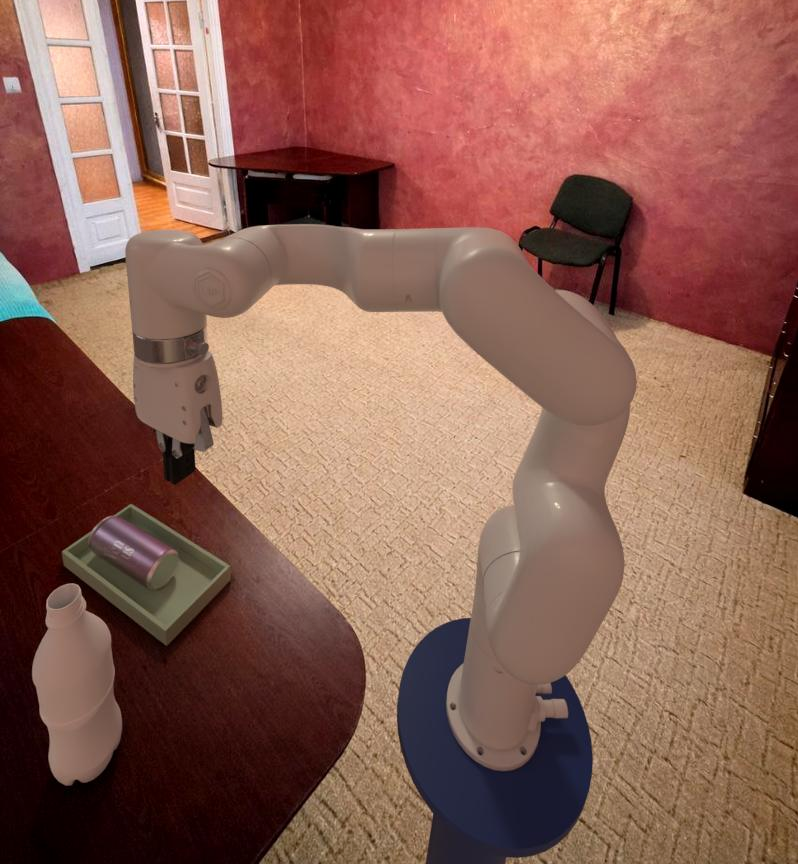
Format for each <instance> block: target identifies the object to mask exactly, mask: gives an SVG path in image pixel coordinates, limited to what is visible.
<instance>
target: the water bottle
mask: <svg viewBox="0 0 798 864" xmlns="http://www.w3.org/2000/svg"><path fill="white" fill-rule="evenodd" d="M82 594H83V593H82V589H81V587H80V585H79V584H76V583H66V584H63V585H60V586H58V587H57V588H56V589H54V590H53V591H52V592H51V593H50V594H49V596H48V597H47V599H46V606H45V609H46V616H45V625H46V627H47V630H46V632H45V634H44V636H43V637H42V639H41V640H40V643H39V645H38V647H37V649H36V651H35V655H34V658H33V661H32V668H31V678H32V679H31V680H32V682H33V685H34V686H35V689H36V695H37V700H38V705H39V716H40V718H41V720H42V722H43V723H44V725H45V726H46V727H47V731H48V735H49V736H48V737H49V747H48V755H47V757H48V764H49V768H50V771H51V774H52V776H53V777H54V778H55V779H56V780H57V782H58V783H60V784H61V785H64V786H67V787H68V786H73V784H74V782H75V781H76V780H77V781H79V782H80V783H83V784H84V783H86V784H87V783H88V782H92V781H94V780H95V779H97V778H98V777H99V776H100V775H101V774H102V773H103V772H104V771H105V769H106V768H107V766H108V764H109V763H110V761H111V759H112V757H113V754H114V751H115V750H116V749H118V746H119V744H120V742H121V738H122V733H123V717H122V712H121V708H120V705H119V704H118V702H117V701H116V698H115V693H114V682H115V673H116V671H115V670H116V668H115V664H114V659H113V651H112V635H111V630H110V629H109V627H108V625H107V623H105V621H104V620H103V619H102V618H100V617H99V616H98V615H95V614H94V613H92V612H90V611H88V610H86V609H87V601H86V600H85V598H84V596H83V595H82Z"/></svg>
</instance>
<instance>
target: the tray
mask: <svg viewBox="0 0 798 864" xmlns="http://www.w3.org/2000/svg"><path fill="white" fill-rule="evenodd" d="M113 516H117V517H121V518H123V519H124V520H126V521H128V522H129V523H131V524H133V525H134V526H136V527H138V528H139V529H141V530H143V531H145V532H146V533H148V534H150V535H151V536H153V537H155V538H156V539H158V540H160V541H161V542H163V543H165V544H166V545H168V546H170V547H171V548H173V549H175V550H176V551H177V553H178V556H179V563H178V567H177V569H176V571H175V573H174V575H173V576H172V578H171V579H170V580H169V581H168V583H166V584H165V585H164V586H163V587H161V588H159V589H156V590H149V589H147V588H146V587H144V586H143V585H141V584H140V583H138V582H136V581H135V580H133V579H132V578H130V577H129V576H127V575H126V574H124V573H123V572H121V571H120V570H118V569H117V568H115V567H114V566H112V565H111V564H109V563H108V562H106V561H105V560H103V559H102V558H100V557H99V556H97V555H96V554H94V553H93V552H92V550H91V549H90V548H89V546H88V539H89V536H90V534H91V532H92V530H91V531H90V532H88V533H86V534H85V535H83V536H82V537H81V538H79V539H78V540H77V541H75V542H73V543H72V544H71V545H68V547H66V548H65V549H63V550H62V551H61V556H62V563H63V567H64V568H66V569H68V570H69V571H70V572H71V573H72V574H74V576H77V578H79V579H80V580H81V581H83V582H84V583H85V584H87V585H88V586H89V587H91V588H92V590H94V591H95V592H97V593H98V594H99V595H101V596H102V597H103V598H104V599H105V600H107V601H108V602H110V603H111V604H112V605H113V606H115V607H116V608H117V609H119V610H120V611H121V612H122V613H124V614H125V615H126V616H127V617H129V618H130V619H131V620H132V621H134V622H135V623H137V625H139V626H140V627H141V628H142V629H144V630H145V631H146V632H148V633H149V634H150V635H152V636H153V637H154V638H155V639H157V640H158V641H159V642H160V643H162V644H163V645H164V646H166V647H167V646H169V645H170V643H172V641H173V640H174V639H175V638H176V637H177V636H178V635H179V634H180V633H181V632H182V631H183V630H184V629H185V628H186V627H187V626H188V625H189V624H190V623H191V622H192V621H193V620H194V619H195V618H196V617H197V616H198V615H199V613H201V611H203V609H205V608H206V606H207V605H208V604H209V603H210V602H211V601H213V600H214V598H215V597H216V596H217V595H218V594H219V593H220V592H221V591H222V590H223V589H224V588H225V587H226V586H227V584H228V583H230V581H231V580H232V573H231V572H232V571H231V570H232V569H231V567H232V566H231V565H229V563H227V562H225V561H224V560H222V559H221V558H218V557H217V556H215V555H214V554H212V553H211V552H209V551H208V550H206V549H204V548H203V547H202V546H199V545H198V544H196V543H195V542H193V541H192V540H190V539H188V538H187V537H185V536H183V535H182V534H180V533H179V532H177V531H176V530H174V529H172V528H171V527H169V526H167V525H166V524H165V523H163V522H162V521H160V520H158V519H157V518H155V517H153V516H151V514H149V513H147V512H146V511H144V510H142V509H140V508H139V507H137V506H135V505H134V504H132V503H130V504H128V505H127V506H126V507H124V508H123V509H121V510H120V511H119V512H117V513H116V514H113Z"/></svg>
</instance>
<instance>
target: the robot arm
mask: <svg viewBox="0 0 798 864" xmlns="http://www.w3.org/2000/svg"><path fill="white" fill-rule="evenodd" d="M124 251H125V253H124V254H125V265H126V277H127V288H128V299H129V300H128V301H129V311H130V322H131V331H132V343H133V353H134V354H133V366H132V368H133V369H132V389H133V391H132V392H133V403H134V409H135V414H136V416H137V418H138V420H140V421H141V422H142V423H143V424H145V425H147V426H148V427H151V428H152V429H153V432H154V434H156V440H157V444H158V448H159V450H160V451H161V452H163V453H162V463H163V476H164V480H165V481H166V482H170V484H171V485H173V486H176V485H178V484H179V483H180V482H182V481H183V480H184V479H186V478H187V477H189V476H190V475H192V474H193V473H194V472H195V471H196V453H195V451H198V452H204V453H205V452H206V451H207V450H209V449H211V448H212V447H213V446H214V444H215V443H214V439H213V435H212V430H211V427H213V428H216V429H218V428H220V427H221V426H222V425H223V404H222V395H221V387H220V380H219V375H218V369H217V366H216V362H215V358H214V356H213V353H212V352H211V351H209V349H210V346H209V343H208V342H209V341H208V317H207V316H209V317H212V318H220V319H231V318H235V317H238V316H240V315H243V314H244V313H246V312H247V311H248V310H250V309H251V308H252V307H253V306H254V305H255V304H256V303H257V302H258V301H259V300H260V299H262V298H263V297H264V296H265V295H266V294H267V293H268V292H269V291H271V289H272V288H273V287H275V286H282V285H283V286H286V285H315V286H322V287H328V288H332V289H335V290H337V291H339V292H342V294H344V295H346V297H348V299H349V300H350V301H351V302H352V303H353V304H355V306H357V307H358V309H360V310H362V311H364V312H368V313H412V312H413V313H419V312H421V313H424V312H425V313H426V312H427V313H429V312H430V313H431V312H432V313H433V312H434V313H435V312H436V313H437V312H438V313H442V315H443V317H444V319H445V320H446V323H447V324H448V325H449V327H450V328H451V329H452V330H453V332H454V333H455V334H456V335H457V336H458V337H459V338H460V339H461V340H462V341H463V342H464V343H465V344H466V345H467V346H468V347H469V348H470V349H472V350H473V352H475V353H476V354H477V355H478V356H479V357H481V358H482V359H483V361H485V362H487V363H488V364H489V365H490V366H491V367H492V368H494V369H495V370H496V371H497V372H498V373H500V374H501V375H502V376H503V377H504V378H506V379H507V380H508V381H509V382H511V383H512V384H513V385H514V386H515V387H517V389H518V390H520V391H521V392H522V393H524V394H525V395H526V396H528V397H529V398H530V399H531V400H532V401H534V402H535V403H536V404H537V405H539V406H540V407H541V411H540V414H539V417H538V421H537V423H536V425H535V428H534V430H533V432H532V434H531V437H530V439H529V441H528V444H527V446H526V448H525V451H524V452H523V455H522V457H521V460H520V462H519V464H518V466H517V469H516V471H515V474H514V477H513V479H512V500H513V504H510V505H506V506H503V507H501V508H499V509H497V510H496V511H495V512H493V513H492V514H491V515H490V516H489V517H488V519H487V520H486V521H485V523H484V525H483V527H482V530H481V532H480V536H479V540H478V547H477V559H476V576H475V586H474V593H473V602H472V608H471V614H470V618H471V620H470V626H469V633H468V639H467V645H466V652H465V658H464V663H463V664H462V665H461V666H460V667H459V668H458V669H457V670H456V671H455V673H454V674H453V676H452V677H451V680H450V683H449V686H448V691H447V699H446V709H447V716H448V720H449V725H450V727H451V730H452V732H453V734H454V736H455V738H456V740H457V741H458V743H459V745H460V746H461V747H462V748H463V750H464V751H465V752H466V753H467V754H468V755H469V756H470V757H471V758H472V759H473V760H475V761H476V762H478V763H479V764H481V765H483V766H484V767H487V768H490V769H493V770H497V771H510V770H514V769H517V768H519V767H521V766H523V765H524V764H525V763H526V762H528V761H529V759H530V758H531V757H532V755H533V754H534V752H535V750H536V747H537V745H538V741H539V737H540V730H541V722H544V721H545V718H568V708H567V704H566V702H565V700H564V699H551V700H542V698H541V696H535V694H536V693H542V694H551V693H552V687H551V682H554V681H556V680H558V679H560V678H562V677H563V676H565V675H566V676H567V675H568V674H569V673H570V672H572V670H574V669H575V668H576V666H577V665H578V664H579V662H580V661H581V660H582V659H583V656H584V655H585V654H586V652H587V650H588V648H589V646H590V645H591V643H592V642H593V640H594V638H595V636H596V635H597V633H598V631H599V629H600V627H601V626H602V624H603V622H604V620H605V619H606V616H607V614H608V613H609V611H610V610H611V607H612V606H613V604H614V602H615V600H616V598H617V596H618V594H619V592H620V589H621V587H622V584H623V580H624V575H625V553H624V547H623V543H622V540H621V538H620V533H619V531H618V529H617V527H616V523H615V522H614V519H613V517H612V514H611V512H610V510H609V507H608V504H607V499H606V493H605V490H606V489H605V488H606V484H607V480H608V477H609V475H610V473H611V471H612V468H613V466H614V463H615V461H616V458H617V456H618V453H619V451H620V449H621V446H622V444H623V441H624V438H625V435H626V432H627V429H628V425H629V421H630V414H631V403H632V401H633V400H634V398H635V394H636V392H637V384H638V383H637V382H638V381H637V373H636V367H635V364H634V362H633V360H632V358H631V356H630V355H629V352H628V351H627V350H626V348H625V347H624V345H623V344H622V343H621V341H620V340H619V339H618V337H617V336H616V334H615V332H614V330H613V328H612V327H611V325H610V324H609V322H608V321H607V320H606V319H605V317H604V316H603V314H602V313H601V312H600V311H599V310H598V309H597V308H596V306H594V305H593V304H592V302H590V301H589V300H588V299H586V297H584V296H582V295H580V294H578V293H575V292H573V291H568V290H565V289H554V287H552V286H551V285H550V284H549V283H547V281H546V280H545V279H544V278H543V277H542V276H541V275H540V274H539V273H538V272H537V271H536V270H535V269H534V268H533V267H532V265H531V264H530V262H529V260H528V259H527V257H526V256H525V254H524V252H523V250H522V249H521V248H520V246H519V244H518V243H517V242H516V241H515V240H514V239H513V238H512V237H511V236H510V235H509V234H508V233H506V232H503V231H502V230H499V229H495V228H491V227H482V226H481V227H479V226H477V227H476V226H475V227H474V226H470V227H469V226H467V227H435V228H434V227H426V228H425V227H424V228H385V229H384V228H381V229H378V228H377V229H375V228H374V229H372V228H371V229H370V228H369V229H366V228H365V229H364V228H356V227H351V226H336V225H330V224H317V223H315V224H313V223H299V224H297V223H296V224H293V223H292V224H267V225H266V224H265V225H255V226H249V227H246V228H243V229H241V230H238V231H236V232H233V233H232V234H230V235H228V236H226V237H223V238H222V239H219V240H216V241H213V242H210V243H206V244H203V242H202V240H201V238H199V236H198V235H196V233H195V234H194V233H193V232H190V231H186V230H180V229H153V230H148V231H142V232H140V233H139V232H138V233H136V234H134V235H133V236H131V237H130V238H129V239H128V241H127V242H126V245H125V249H124ZM451 709H453V710H451ZM521 753H523V754H524V755H522V754H521ZM479 754H481V755H479Z"/></svg>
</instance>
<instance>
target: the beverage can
mask: <svg viewBox="0 0 798 864" xmlns="http://www.w3.org/2000/svg"><path fill="white" fill-rule="evenodd" d="M91 531H92V532H91ZM91 531H90V532H91V534H90V536H89V539H88V546H89V548H90V549H91V550H92V552H93V553H94V554H96V555H97V556H99V557H100V558H102V559H103V560H105V561H106V562H108V563H109V564H111V565H112V566H114V567H115V568H117V569H118V570H120V571H121V572H123V573H124V574H126V575H127V576H129V577H130V578H132V579H133V580H135V581H136V582H138V583H140V584H141V585H143V586H144V587H146V588H147V589H149V590H156V589H159V588H161V587H163V586H164V585H165V584H166V583H168V581H169V580H170V579H171V578H172V576H173V575H174V573H175V571H176V569H177V567H178V563H179V556H178V553H177V551H176V550H175V549H173V548H171V547H170V546H168V545H166V544H165V543H163V542H161V541H160V540H158V539H156V538H155V537H153V536H151V535H150V534H148V533H146V532H145V531H143V530H141V529H139V528H138V527H136V526H134V525H133V524H131V523H129V522H128V521H126V520H124V519H123V518H121V517H117V516H114V515H109V516H107V517H105V518H103V519H101V520H100V521H99V522H98V523H97V524H96V525H95V526H94V527H93V528H92V530H91Z"/></svg>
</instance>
